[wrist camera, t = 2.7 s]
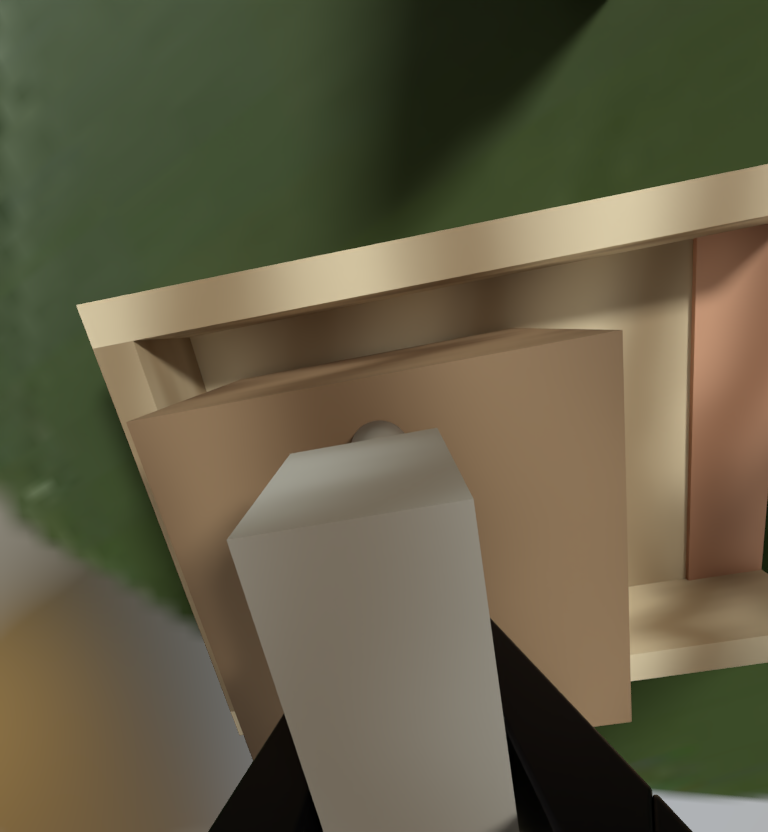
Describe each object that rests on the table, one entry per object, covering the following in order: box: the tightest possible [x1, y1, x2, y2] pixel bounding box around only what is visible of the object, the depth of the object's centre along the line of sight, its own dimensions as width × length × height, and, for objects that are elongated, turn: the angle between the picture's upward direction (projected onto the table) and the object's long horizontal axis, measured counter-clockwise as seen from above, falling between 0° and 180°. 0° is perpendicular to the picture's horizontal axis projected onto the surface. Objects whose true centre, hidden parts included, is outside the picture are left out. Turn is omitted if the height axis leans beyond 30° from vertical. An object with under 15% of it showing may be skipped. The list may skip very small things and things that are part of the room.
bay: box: [76, 164, 768, 735], centre depth 13 cm, size 22×16×4 cm
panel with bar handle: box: [126, 328, 632, 832], centre depth 9 cm, size 10×10×10 cm
